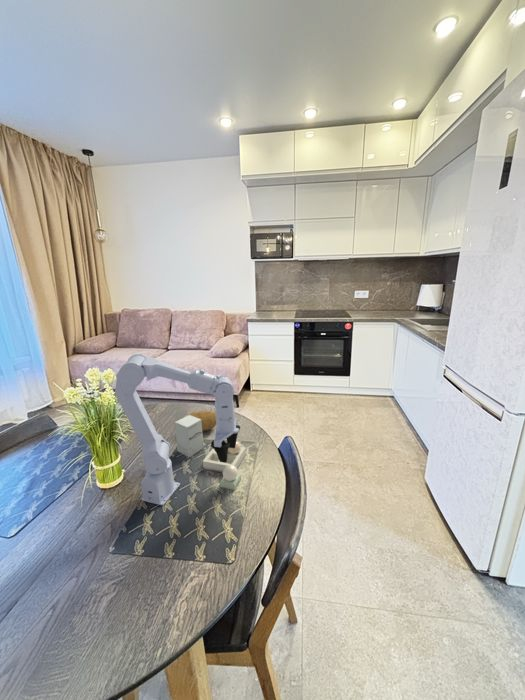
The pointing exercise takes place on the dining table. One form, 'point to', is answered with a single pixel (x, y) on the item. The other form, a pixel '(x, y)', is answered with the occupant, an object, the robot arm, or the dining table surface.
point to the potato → (206, 419)
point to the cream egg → (230, 472)
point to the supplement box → (189, 435)
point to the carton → (214, 464)
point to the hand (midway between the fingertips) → (227, 454)
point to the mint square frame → (230, 482)
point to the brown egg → (235, 449)
